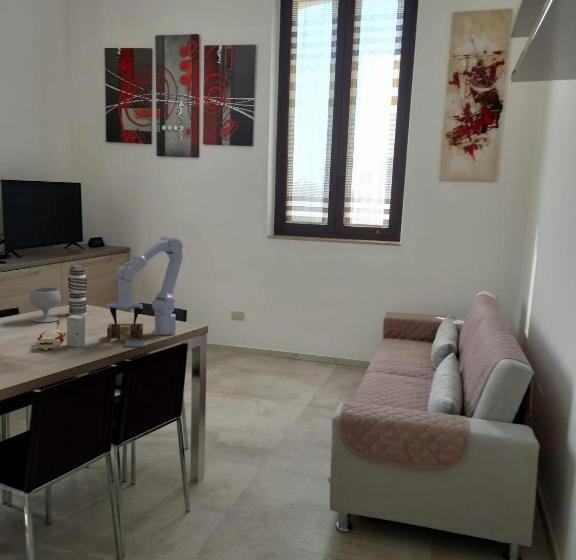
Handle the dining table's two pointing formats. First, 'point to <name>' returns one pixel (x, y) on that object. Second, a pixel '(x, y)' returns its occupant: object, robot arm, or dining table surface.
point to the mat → (133, 344)
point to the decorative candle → (77, 290)
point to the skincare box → (75, 331)
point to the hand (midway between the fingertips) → (125, 325)
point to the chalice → (45, 302)
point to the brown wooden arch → (134, 330)
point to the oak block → (124, 332)
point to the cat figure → (51, 338)
